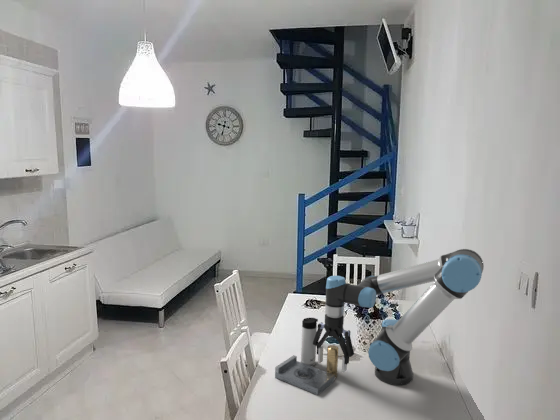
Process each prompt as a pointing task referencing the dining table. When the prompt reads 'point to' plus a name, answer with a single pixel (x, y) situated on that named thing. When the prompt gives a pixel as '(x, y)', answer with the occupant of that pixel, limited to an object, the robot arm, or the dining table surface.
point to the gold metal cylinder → (332, 359)
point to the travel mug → (308, 341)
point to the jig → (294, 370)
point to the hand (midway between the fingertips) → (332, 366)
